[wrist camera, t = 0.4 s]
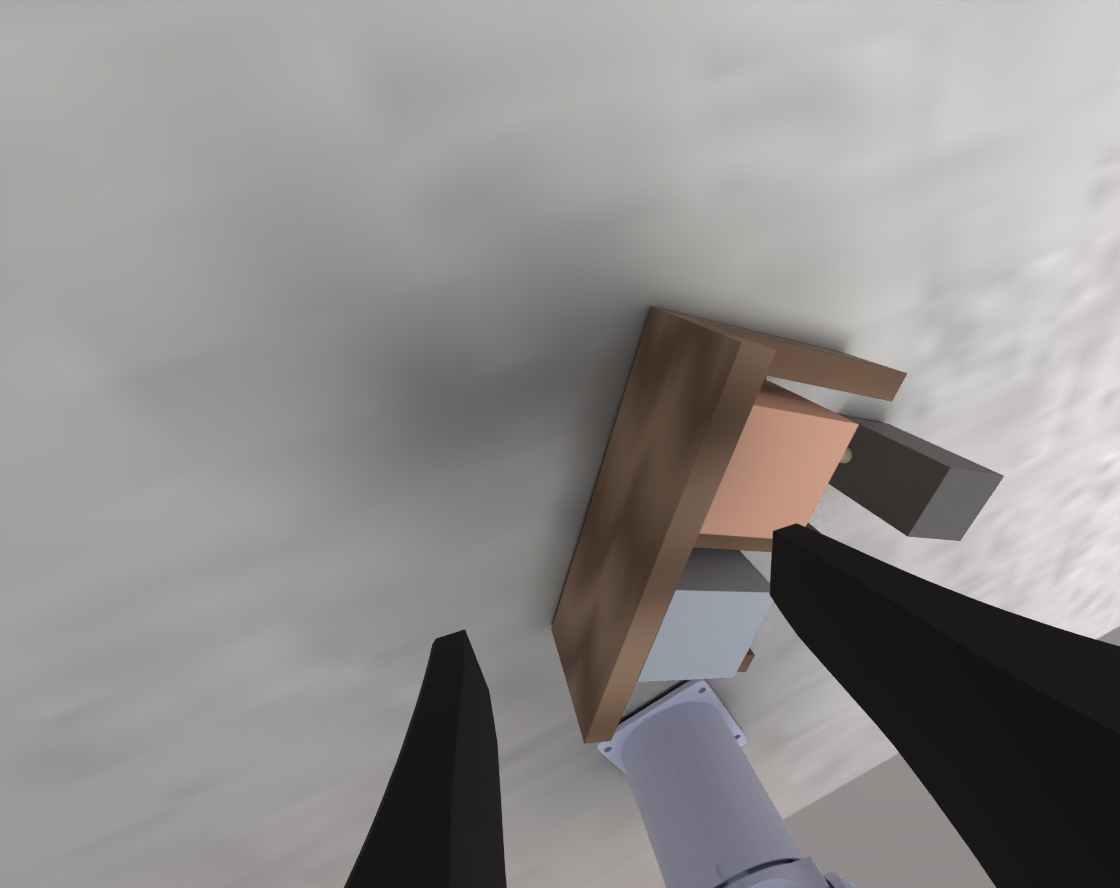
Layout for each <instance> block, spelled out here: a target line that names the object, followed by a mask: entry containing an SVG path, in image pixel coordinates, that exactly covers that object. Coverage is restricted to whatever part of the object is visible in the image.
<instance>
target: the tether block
mask: <svg viewBox="0 0 1120 888" xmlns="http://www.w3.org/2000/svg"><path fill="white" fill-rule="evenodd" d="M1003 477H1004V476H1003V475H1001V474H999V473H996V472H994V471H992V470H990V469H987V468H985V467H983V466H981V465H979V464H976V463H974V462H972V461H970V460H967V459H965V458H963V457H961V456H959V455H956V454H954V453H952V452H950V451H947V450H945V449H943V448H941V447H938V446H936V445H934V444H932V443H930V442H927V441H925V440H923V439H921V438H918V437H916V436H914V435H912V434H910V433H907V432H905V431H903V430H901V429H898V428H896V427H894V426H892V425H890V424H886V423H881V422H876V421H870V420H865V419H860V418H854V417H849V416H844V415H839V414H836V413H834V412H832V411H830V410H828V409H826V408H824V407H822V406H820V405H818V404H816V403H814V402H811V401H809V400H807V399H805V398H803V397H801V396H799V395H797V394H795V393H793V392H791V391H789V390H787V389H784V388H782V387H780V386H778V385H776V384H774V383H772V382H770V381H766V380H764V382H763V384H762V386H761V389H760V391H759V393H758V396H757V398H756V400H755V403H754V405H753V407H752V410H751V412H750V415H749V417H748V419H747V422H746V424H745V426H744V429H743V431H742V433H741V436H740V438H739V441H738V443H737V445H736V448H735V450H734V452H733V455H732V457H731V459H730V462H729V464H728V467H727V469H726V471H725V474H724V476H723V478H722V481H721V483H720V485H719V488H718V490H717V493H716V495H715V497H714V500H713V502H712V504H711V507H710V509H709V511H708V514H707V516H706V518H705V521H704V523H703V526H702V528H701V530H700V533H701V534H714V535H728V536H742V537H756V538H770V539H773V531H774V530H777V529H780V528H783V527H786V526H789V525H793V524H796V523H797V524H800V525H802V526H804V527H806V525H807V523H808V521H809V519H810V517H811V515H812V513H813V511H814V510H815V508H816V506H817V504H818V502H819V500H820V498H821V496H822V494H823V492H824V490H825V488H826V487H827V485H828V484H830V485H831V486H833V487H834V488H836V489H837V490H839V491H840V492H842V493H843V494H845V495H846V496H848V497H849V498H851V499H852V500H854V501H855V502H857V503H858V504H860V505H861V506H863V507H864V508H866V509H867V510H869V511H870V512H872V513H873V514H875V515H876V516H878V517H879V518H881V519H882V520H884V521H885V522H887V523H888V524H890V525H891V526H893V527H894V528H896V529H897V530H899V531H900V532H902V533H903V534H905V535H906V536H908V537H920V538H932V539H944V540H956V541H960V540H961V539H962V537H963V536H964V534H965V533H966V531H967V530H968V529H969V527H970V526H971V524H972V523H973V521H974V520H975V518H976V517H977V515H978V514H979V512H980V511H981V509H982V508H983V506H984V505H985V504H986V502H987V501H988V499H989V498H990V496H991V495H992V493H993V492H994V490H995V489H996V487H997V486H998V484H999V483H1000V481H1001V480H1002V478H1003Z"/></svg>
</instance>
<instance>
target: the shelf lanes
mask: <svg viewBox="0 0 1120 888" xmlns="http://www.w3.org/2000/svg"><path fill="white" fill-rule="evenodd" d="M766 375H768V376H773V377H777V378H782V379H787V380H792V381H796V382H801V383H806V384H811V385H816V386H820V387H825V388H830V389H835V390H839V391H844V392H849V393H854V394H859V395H863V396H868V397H873V398H878V399H882V400H887V401H893V399H894V397H895V395H896V393H897V391H898V390H899V388H900V386H901V384H902V382H903V380H904V378H905V377H906V375H907V373H904V372H901V371H898V370H895V369H892V368H889V367H886V366H883V365H880V364H877V363H873V362H870V361H867V360H864V359H861V358H858V357H855V356H852V355H849V354H845V353H841V352H837V351H833V350H828V349H824V348H820V347H816V346H812V345H808V344H804V343H800V342H796V341H792V340H788V339H783V338H779V337H775V336H771V335H767V334H763V333H759V332H755V331H751V330H747V329H742V328H738V327H734V326H730V325H726V324H722V323H718V322H714V321H710V320H706V319H701V318H697V317H693V316H689V315H685V314H681V313H677V312H673V311H669V310H665V309H660V308H656V307H652V306H651V309H650V312H649V316H648V319H647V322H646V325H645V329H644V332H643V335H642V338H641V342H640V345H639V348H638V351H637V354H636V358H635V361H634V364H633V367H632V371H631V374H630V377H629V380H628V384H627V387H626V390H625V393H624V396H623V400H622V403H621V406H620V409H619V413H618V416H617V419H616V422H615V426H614V429H613V432H612V435H611V438H610V442H609V445H608V448H607V451H606V455H605V458H604V461H603V464H602V468H601V471H600V474H599V477H598V480H597V484H596V487H595V490H594V493H593V497H592V500H591V503H590V506H589V510H588V513H587V516H586V519H585V522H584V526H583V529H582V532H581V535H580V539H579V542H578V545H577V548H576V552H575V555H574V558H573V561H572V564H571V568H570V571H569V574H568V577H567V581H566V584H565V587H564V590H563V594H562V597H561V600H560V603H559V606H558V610H557V613H556V616H555V619H554V623H553V626H552V633H553V636H554V639H555V643H556V646H557V650H558V653H559V657H560V660H561V664H562V667H563V671H564V674H565V678H566V681H567V685H568V688H569V692H570V695H571V698H572V702H573V705H574V709H575V712H576V716H577V719H578V723H579V726H580V730H581V733H582V737H583V740H584V743H594V742H606V741H612V738H613V736H614V733H615V731H616V729H617V726H618V724H619V722H620V719H621V717H622V715H623V712H624V710H625V707H626V705H627V703H628V700H629V698H630V696H631V693H632V691H633V689H634V686H635V684H636V681H637V679H638V677H639V674H640V672H641V670H642V667H643V665H644V663H645V660H646V658H647V655H648V653H649V651H650V648H651V646H652V644H653V641H654V639H655V637H656V634H657V632H658V630H659V627H660V625H661V622H662V620H663V618H664V615H665V613H666V611H667V608H668V606H669V604H670V601H671V599H672V596H673V594H674V592H675V589H676V587H677V585H678V582H679V580H680V578H681V575H682V573H683V570H684V568H685V566H686V563H687V561H688V559H689V556H690V554H691V552H692V549H693V547H696V548H713V549H729V550H746V551H763V552H772V539H770V538H756V537H742V536H728V535H714V534H701V533H700V530H701V528H702V526H703V523H704V521H705V518H706V516H707V514H708V511H709V509H710V507H711V504H712V502H713V500H714V497H715V495H716V493H717V490H718V488H719V485H720V483H721V481H722V478H723V476H724V474H725V471H726V469H727V467H728V464H729V462H730V459H731V457H732V455H733V452H734V450H735V448H736V445H737V443H738V441H739V438H740V436H741V433H742V431H743V429H744V426H745V424H746V422H747V419H748V417H749V415H750V412H751V410H752V407H753V405H754V403H755V400H756V398H757V396H758V393H759V391H760V389H761V386H762V384H763V382H764V379H765V377H766ZM806 527H807V528H809V529H812V530H814V531H816V532H818V533H820V532H819V531H818V530H816V529H815V528H814V527H813V526H811V525H810V524H809V523H807V525H806ZM754 656H755V655H754V653H753V652H752V651H751V649H750V648H749V650H748V652H747V653H746V655H745V657H744V659H743V661H742V663H741V665H740V667H739V669H738V670H737V672H746V671H747V669H748V667H749V665H750V663H751V661H752V660H753V658H754Z"/></svg>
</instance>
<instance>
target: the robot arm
mask: <svg viewBox="0 0 1120 888" xmlns="http://www.w3.org/2000/svg"><path fill="white" fill-rule="evenodd" d="M770 596H771V598H772V599H773V601H774V602H775V604H776V605H777V607H778V608H779V610H780V611H781V613H782V614H783V616H784V617H785V618H786V620H787V621H788V623H789V624H790V625H791V627H792V628H793V630H794V631H795V632H796V634H797V635H798V636H799V637H800V639H801V640H802V641H803V642H804V643H805V644H806V646H807V647H808V648H809V649H810V650H811V651H812V652H813V654H814V655H815V656H816V657H817V658H818V659H819V660H820V662H821V663H822V664H823V665H824V666H825V667H826V668H827V670H828V671H829V672H830V673H831V674H832V675H833V676H834V677H835V679H836V680H837V681H838V682H839V683H840V684H841V685H842V686H843V688H844V689H845V690H846V691H847V692H848V693H849V694H850V695H851V697H852V698H853V699H854V700H855V701H856V702H857V703H858V704H859V706H860V707H861V708H862V709H863V710H864V711H865V712H866V713H867V715H868V716H869V717H870V718H871V719H872V720H873V721H874V722H875V724H876V725H877V726H878V727H879V728H880V730H881V731H882V732H883V733H884V734H885V736H886V737H887V738H888V739H889V740H890V742H891V743H892V744H893V745H894V746H895V748H896V749H897V750H898V752H899V753H900V754H901V756H902V757H903V758H904V760H905V761H906V762H907V764H908V765H909V766H910V768H912V770H913V772H914V773H915V774H916V775H917V777H918V778H919V779H920V781H921V782H922V784H923V785H924V786H925V787H926V789H927V790H928V791H929V793H930V794H931V795H932V797H933V798H934V800H935V801H936V802H937V804H938V805H939V807H940V808H941V809H942V811H943V812H944V814H945V815H946V816H947V818H948V819H949V820H950V822H951V823H952V825H953V826H954V827H955V829H956V830H957V832H958V833H959V834H960V836H961V837H962V839H963V840H964V841H965V843H966V844H967V846H968V847H969V848H970V850H971V851H972V853H973V854H974V855H975V857H976V858H977V860H978V861H979V863H980V864H981V866H982V867H983V869H984V870H985V872H986V873H987V875H988V876H989V878H990V879H991V880H992V882H993V883H994V885H995V886H996V888H1120V646H1116V645H1113V644H1109V643H1106V642H1102V641H1099V640H1095V639H1092V638H1088V637H1085V636H1082V635H1078V634H1075V633H1072V632H1069V631H1065V630H1062V629H1059V628H1056V627H1053V626H1050V625H1047V624H1044V623H1041V622H1038V621H1035V620H1032V619H1029V618H1026V617H1023V616H1020V615H1017V614H1014V613H1011V612H1008V611H1005V610H1002V609H999V608H997V607H994V606H991V605H988V604H986V603H983V602H980V601H978V600H975V599H972V598H970V597H967V596H965V595H962V594H960V593H957V592H954V591H952V590H949V589H947V588H944V587H942V586H939V585H937V584H934V583H932V582H929V581H927V580H925V579H922V578H920V577H917V576H915V575H913V574H910V573H908V572H906V571H903V570H901V569H899V568H896V567H894V566H892V565H890V564H887V563H885V562H883V561H880V560H878V559H876V558H874V557H871V556H869V555H867V554H865V553H863V552H860V551H858V550H856V549H854V548H852V547H849V546H847V545H845V544H843V543H841V542H838V541H836V540H834V539H832V538H829V537H827V536H825V535H823V534H821V533H818V532H816V531H814V530H812V529H809V528H807V527H804V526H802V525H800V524H797V523H796V524H793V525H789V526H786V527H783V528H780V529H777V530H774V531H773V539H772V559H771V579H770ZM746 743H747V738H746V736H745V734H744V733H743V731H742V730H741V729H740V727H739V726H738V725H737V723H736V722H735V721H734V719H733V718H732V716H731V715H730V714H729V712H728V711H727V710H726V708H725V707H724V705H723V704H722V703H721V701H720V700H719V699H718V697H717V696H716V694H715V693H714V692H713V690H712V689H711V688H710V686H709V685H708V683H707V682H706V681H705V679H694V680H689V681H688V682H686V683H685V684H683V685H681V686H680V687H678V688H677V689H675V690H673V691H672V692H670V693H669V694H667V695H665V696H664V697H662V698H661V699H659V700H657V701H656V702H654V703H653V704H651V705H650V706H648V707H646V708H645V709H643V710H642V711H640V712H638V713H637V714H635V715H634V716H632V717H630V718H629V719H627V720H626V721H624V722H622V723H621V724H619V725H618V726H617V729H616V731H615V733H614V736H613V738H612V741H606V742H595V744H596V748H597V750H598V751H600V752H601V753H602V754H603V755H604V756H605V757H606V758H608V759H609V760H610V761H611V762H612V763H613V764H614V765H616V766H617V767H618V768H619V769H620V770H621V771H622V772H624V773H625V774H626V775H627V776H628V779H629V782H630V785H631V787H632V790H633V793H634V796H635V799H636V802H637V805H638V807H639V810H640V813H641V816H642V819H643V822H644V825H645V828H646V830H647V833H648V836H649V839H650V842H651V845H652V848H653V851H654V853H655V856H656V859H657V862H658V865H659V868H660V871H661V873H662V876H663V879H664V882H665V885H666V888H858V887H856V886H855V885H854V884H853V883H852V882H850V881H848V880H846V879H844V878H842V877H840V875H838V874H837V873H835V872H833V871H831V872H829V873H827V874H825V875H824V876H823V875H822V873H821V872H820V870H819V868H818V867H817V865H816V863H815V862H814V860H813V858H812V857H811V856H808V857H806V858H804V856H803V854H802V852H801V851H800V849H799V847H798V845H797V844H796V842H795V841H794V839H793V837H792V835H791V834H790V832H789V830H788V828H787V827H786V825H785V823H784V821H783V820H782V818H781V816H780V815H779V813H778V811H777V809H776V808H775V806H774V804H773V802H772V801H771V799H770V797H769V796H768V794H767V792H766V790H765V789H764V787H763V785H762V784H761V782H760V780H759V778H758V777H757V775H756V773H755V772H754V770H753V768H752V766H751V765H750V763H749V761H748V760H747V758H746V756H745V754H744V753H743V751H742V749H741V747H742V746H744V745H745V744H746ZM344 888H507V886H506V875H505V860H504V844H503V827H502V810H501V793H500V777H499V761H498V746H497V737H496V731H495V724H494V718H493V712H492V706H491V700H490V694H489V689H488V687H487V684H486V682H485V679H484V677H483V674H482V672H481V669H480V666H479V664H478V661H477V659H476V656H475V654H474V651H473V649H472V646H471V644H470V641H469V638H468V636H467V633H466V631H465V630H462V631H459V632H456V633H452V634H449V635H446V636H443V637H440V638H437V639H436V640H435V641H434V643H433V644H432V648H431V653H430V657H429V661H428V665H427V669H426V672H425V676H424V680H423V683H422V687H421V690H420V693H419V697H418V700H417V703H416V706H415V710H414V713H413V716H412V719H411V722H410V725H409V728H408V730H407V733H406V736H405V739H404V742H403V745H402V748H401V751H400V754H399V757H398V760H397V762H396V765H395V767H394V770H393V773H392V775H391V778H390V780H389V783H388V786H387V788H386V791H385V793H384V796H383V798H382V801H381V804H380V806H379V809H378V811H377V814H376V816H375V819H374V821H373V823H372V826H371V828H370V830H369V833H368V835H367V838H366V840H365V842H364V844H363V847H362V849H361V851H360V854H359V856H358V858H357V860H356V862H355V865H354V867H353V869H352V871H351V873H350V876H349V878H348V880H347V882H346V884H345V887H344Z"/></svg>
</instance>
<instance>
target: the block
mask: <svg viewBox="0 0 1120 888" xmlns="http://www.w3.org/2000/svg"><path fill="white" fill-rule="evenodd" d="M773 602H774V601H773V599H772V598H771V596H770V583H769V582H768V581H767V580H766V579H765V578H764V577H763V575H762V574H761V573H760V572H759V571H758V570H757V569H756V568H755V567H754V566H753V565H752V564H751V563H750V561H749V560H748V559H747V558H746V557H745V556H744V555H743V554H742V553H741V552H740V551H739V550H729V549H713V548H696V547H693V549H692V552H691V554H690V556H689V559H688V561H687V563H686V566H685V568H684V570H683V573H682V575H681V578H680V580H679V582H678V585H677V587H676V589H675V592H674V594H673V596H672V599H671V601H670V604H669V606H668V608H667V611H666V613H665V615H664V618H663V620H662V622H661V625H660V627H659V630H658V632H657V634H656V637H655V639H654V641H653V644H652V646H651V648H650V651H649V653H648V655H647V658H646V660H645V663H644V665H643V667H642V670H641V672H640V674H639V677H638V679H637V682H650V681H672V680H694V679H716V678H734V676H735V674H736V672H737V670H738V669H739V667H740V665H741V663H742V661H743V659H744V657H745V655H746V653H747V652H748V650H749V648H750V646H751V644H752V642H753V640H754V638H755V636H756V634H757V633H758V631H759V629H760V627H761V625H762V623H763V621H764V619H765V617H766V616H767V614H768V612H769V610H770V608H771V606H772V604H773Z"/></svg>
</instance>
